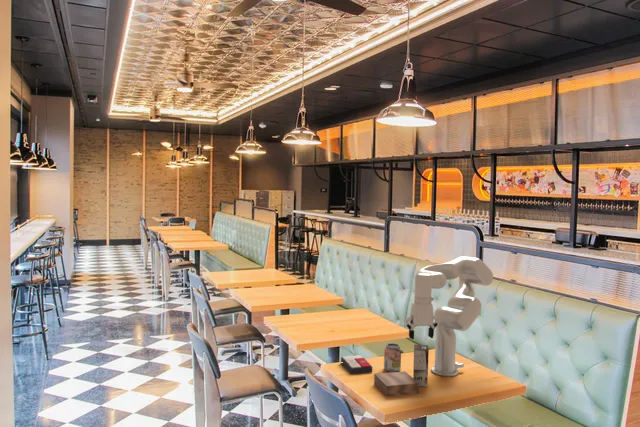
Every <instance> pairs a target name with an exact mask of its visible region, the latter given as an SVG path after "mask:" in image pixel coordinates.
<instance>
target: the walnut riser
mask: <svg viewBox="0 0 640 427" xmlns="http://www.w3.org/2000/svg"><path fill="white" fill-rule="evenodd" d="M373 382H374V383H373V384H374V385H375V386H376V387H377V389H378V390H379V391H380V392H382V393H383V395H384V396H385V397H387V398H388V397H399V396H410V395H420V386H419V382H417V381H416V380H415V379H414V378H413V376H411V375H410V374H409V373H408V372H406V371H398V372H382V373H374V380H373Z"/></svg>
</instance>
